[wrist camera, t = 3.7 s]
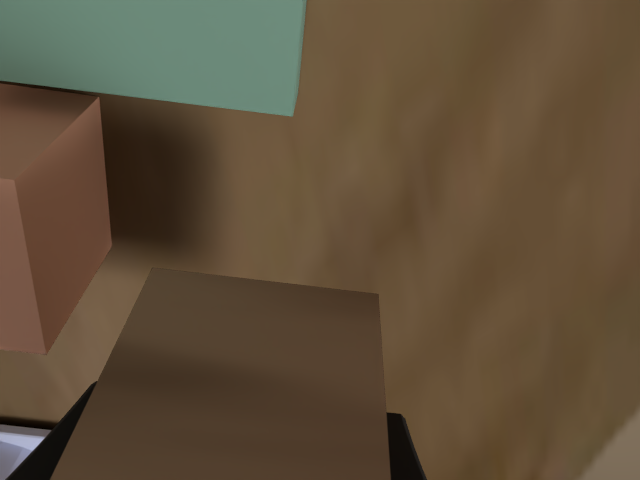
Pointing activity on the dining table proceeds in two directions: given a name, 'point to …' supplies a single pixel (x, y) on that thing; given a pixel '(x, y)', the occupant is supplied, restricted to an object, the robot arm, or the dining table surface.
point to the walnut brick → (237, 386)
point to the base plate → (159, 49)
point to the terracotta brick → (48, 211)
